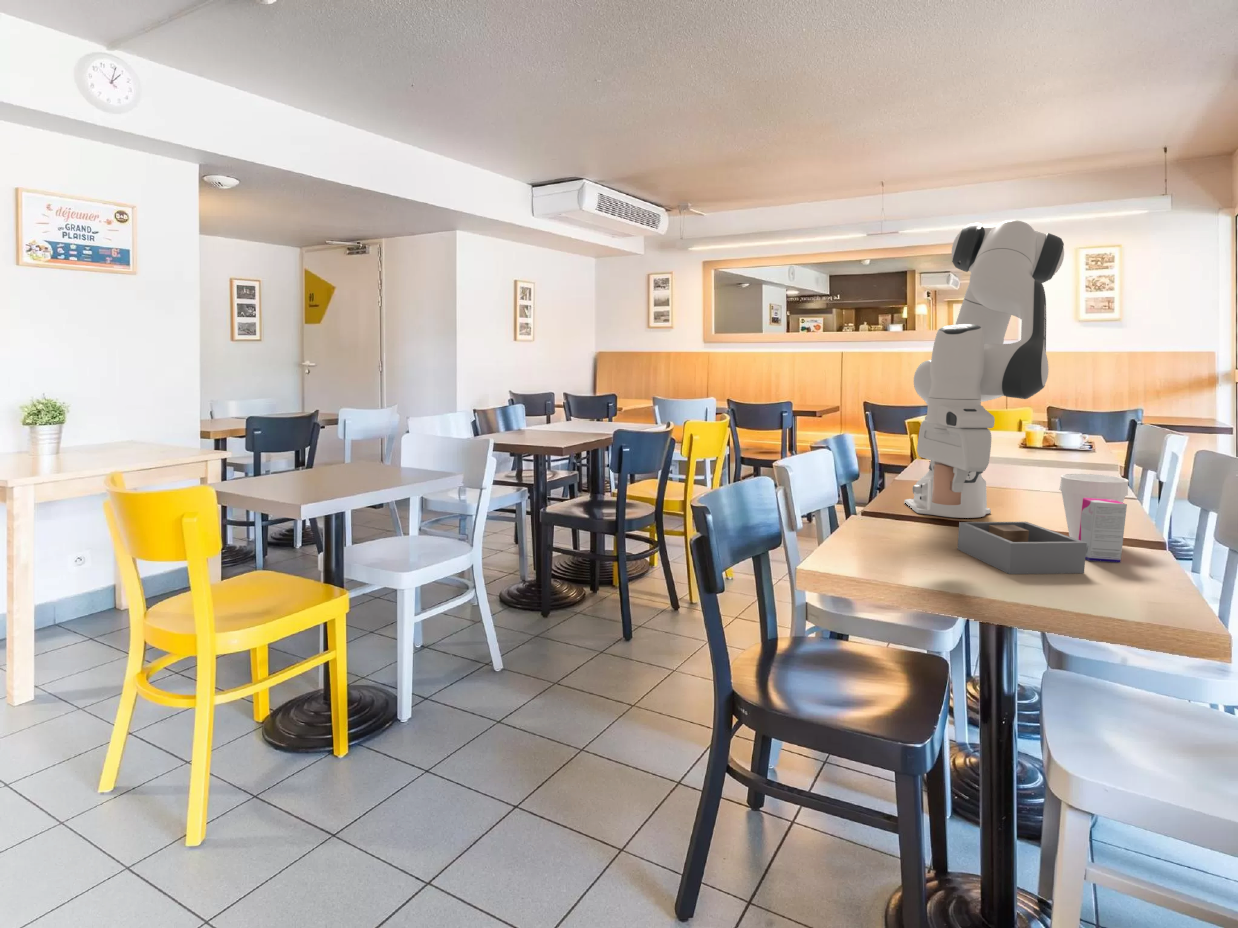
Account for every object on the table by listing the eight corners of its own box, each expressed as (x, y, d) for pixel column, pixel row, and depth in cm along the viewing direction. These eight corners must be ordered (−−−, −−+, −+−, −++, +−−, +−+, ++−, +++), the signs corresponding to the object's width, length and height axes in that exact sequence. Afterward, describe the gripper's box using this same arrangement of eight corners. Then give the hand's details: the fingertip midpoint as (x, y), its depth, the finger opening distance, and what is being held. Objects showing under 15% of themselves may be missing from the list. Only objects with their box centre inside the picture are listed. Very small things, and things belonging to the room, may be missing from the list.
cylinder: (926, 499, 140) (929, 463, 139) (952, 499, 140) (955, 463, 139) (939, 505, 135) (942, 467, 134) (966, 505, 135) (969, 467, 134)
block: (1001, 556, 142) (1003, 530, 142) (987, 549, 147) (989, 525, 147) (1026, 555, 143) (1028, 530, 142) (1011, 549, 148) (1013, 524, 147)
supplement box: (1122, 563, 140) (1128, 503, 139) (1087, 561, 141) (1093, 502, 140) (1108, 555, 146) (1114, 498, 144) (1075, 553, 147) (1080, 497, 146)
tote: (957, 549, 150) (959, 522, 149) (1023, 548, 151) (1026, 521, 150) (1008, 573, 132) (1011, 543, 132) (1084, 573, 133) (1086, 542, 132)
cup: (1134, 549, 151) (1141, 483, 149) (1068, 546, 153) (1074, 481, 151) (1106, 535, 163) (1112, 474, 161) (1046, 533, 165) (1051, 472, 163)
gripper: (911, 409, 145) (906, 478, 147) (964, 418, 125) (958, 498, 127) (942, 409, 146) (937, 478, 148) (1000, 419, 126) (993, 498, 128)
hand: (947, 488), depth 137 cm, fingers closed on cylinder, 5 cm apart
